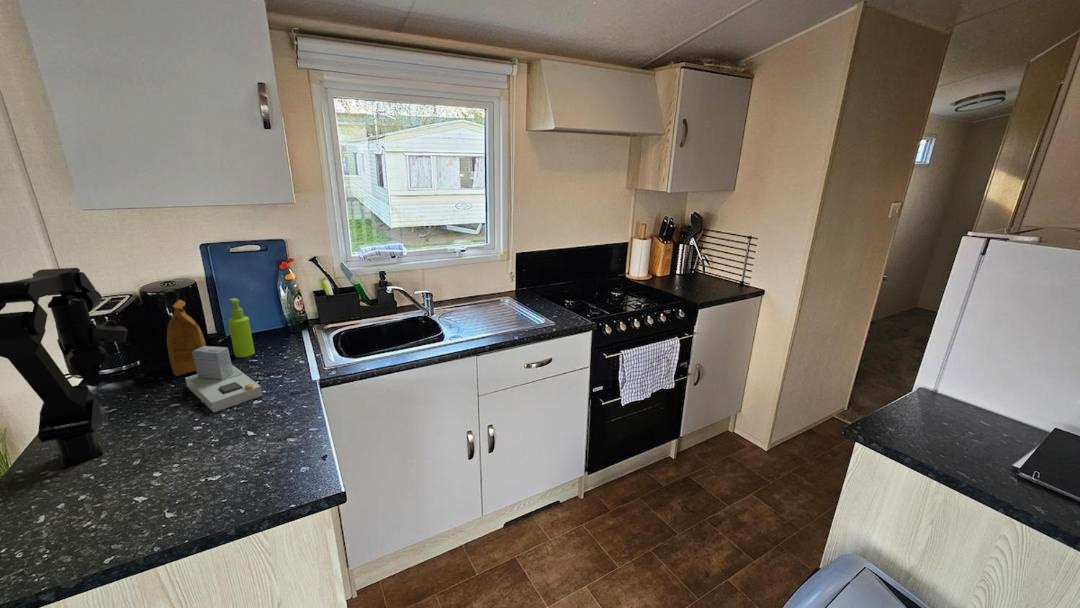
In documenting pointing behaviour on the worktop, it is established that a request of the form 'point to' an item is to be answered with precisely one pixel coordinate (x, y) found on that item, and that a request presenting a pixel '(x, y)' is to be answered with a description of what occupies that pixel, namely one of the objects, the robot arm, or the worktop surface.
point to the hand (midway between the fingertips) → (91, 379)
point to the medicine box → (212, 362)
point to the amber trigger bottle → (183, 340)
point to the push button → (229, 388)
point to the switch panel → (215, 399)
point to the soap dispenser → (240, 331)
